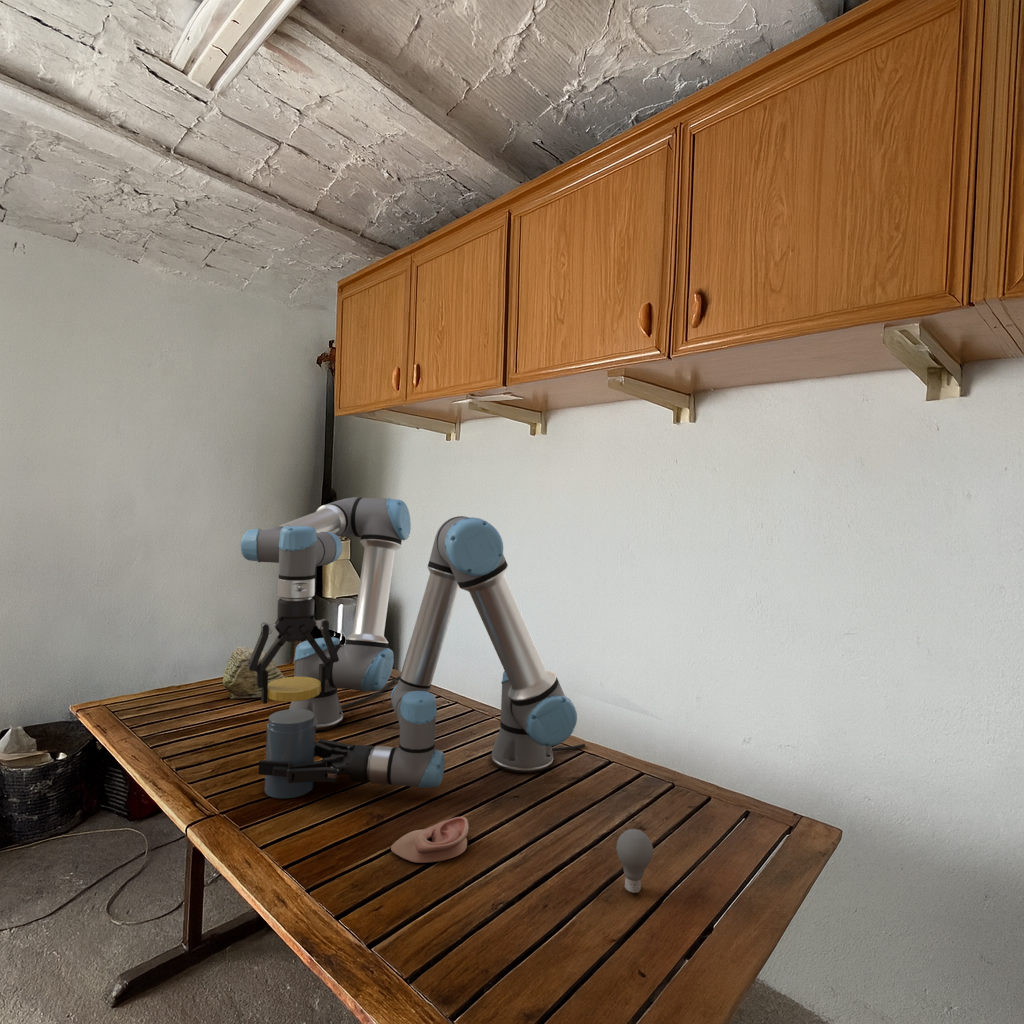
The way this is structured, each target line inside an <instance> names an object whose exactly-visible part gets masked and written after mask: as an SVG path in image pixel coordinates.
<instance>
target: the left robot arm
mask: <svg viewBox="0 0 1024 1024" xmlns="http://www.w3.org/2000/svg"><path fill="white" fill-rule="evenodd" d="M411 524H412V523H411V515H410V510H409V508H408V505H407V503H406V502H404V501H403V500H401V499H397V498H396V499H395V498H391V497H385V498H383V497H382V498H380V497H360V496H353V497H348V498H343V499H338V500H335V501H332V502H330V503H326V504H323V505H321V506H319V507H318V508H317V509H316V511H314V512H312V513H309V514H307V515H304V516H301V517H298V518H295V519H293V520H290V521H288V522H285V523H282V524H280V525H277V526H273V527H271V528H268V529H261V528H258V529H257V528H255V529H254V528H253V529H248V530H247V531H246V532H244V534H243V535H242V537H241V539H240V552H241V555H242V557H243V558H244V559H245V560H247V561H251V562H257V563H273V564H278V582H277V596H278V597H279V599H278V600H277V611H276V612H277V613H276V620H275V622H274V623H273V622H271V623H267V622H262V623H261V624H260V634H259V636H258V638H257V641H256V643H255V646H254V648H253V649H254V651H253V653H252V656H251V658H250V660H249V663H248V668H249V669H250V670H251V671H256V672H257V686H258V688H260V687H262V694H261V697H260V699H261V700H260V701H261V702H262V704H263V705H265V704H268V698H267V693H268V672H267V670H265V669H266V668H267V666H268V665H269V664H270V662H271V661H272V660H273V659H274V658H275V657H276V655H277V654H278V652H279V651H280V650H281V648H282V647H283V646H284V645H285V644H286V642H287V643H293V642H296V641H297V642H299V643H298V644H297V645H296V647H295V652H294V653H295V654H294V659H293V661H294V672H293V677H310V678H315V679H317V680H319V681H320V682H321V692H320V694H319V695H317V696H316V697H313V698H310V699H307V700H302V701H292V702H290V704H289V708H288V709H305V710H309V711H312V712H313V713H314V714H315V719H314V720H315V721H316V733H317V732H325V731H329V730H332V729H335V728H337V727H339V726H340V725H342V723H343V722H344V713H343V709H345V708H349V707H351V706H354V705H357V704H360V703H363V702H366V701H369V700H372V699H374V698H376V697H378V696H379V695H380V694H382V693H383V692H384V691H386V690H387V689H388V688H389V687H390V686H391V685H392V684H394V683H396V682H398V681H399V679H400V675H399V676H396V677H395V678H393V679H391V680H390V677H391V675H392V671H393V668H394V661H395V659H394V656H395V655H394V652H393V650H392V649H391V648H389V641H388V640H387V637H385V629H386V621H387V614H388V607H389V606H388V605H389V601H390V600H389V599H390V592H391V584H392V576H393V570H394V561H395V556H396V555H395V553H396V551H398V550H399V549H400V548H401V547H402V542H403V541H405V540H408V539H409V537H410V534H411V529H412V527H411V526H412V525H411ZM340 537H355V538H360V540H359V541H360V544H361V546H362V547H363V548H364V551H363V558H362V563H361V572H360V577H359V586H358V592H357V599H356V606H355V607H356V608H355V614H354V620H353V625H352V632H351V634H350V635H348V636H347V637H346V638H345V643H344V644H340V643H341V641H340V639H339V638H338V637H334V636H331V633H330V631H329V630H330V622H329V620H327V619H326V618H321V619H318V620H316V619H315V599H314V598H313V597H314V596H315V593H316V589H315V587H316V567H320V566H328V565H331V564H332V563H335V562H336V561H337V560H338V559H340V557H341V555H342V553H343V543H342V540H341V538H340ZM316 627H317V629H318V630H320V632H321V636H322V637H318V638H314V637H313V635H312V634H311V633H312V632H313V631H314V629H315V628H316ZM274 630H276V631H277V632H278V634H277V636H276V638H275V639H274V641H273V642H272V644H271V645H270V647H269V649H268V650H267V651H266V652H265V653H266V654H265V655H264V657H263V658H262V660H261V661H260V663H259V664H257V663H258V661H259V658H260V656H261V654H262V651H263V650H264V649H265V646H266V644H267V641H268V639H269V635H271V634H272V633H273V631H274ZM389 680H390V681H389ZM388 681H389V682H388ZM338 689H342V690H351V691H359V692H360V691H361V692H365V693H366V692H375V693H373V694H371V695H369V696H367V697H363V698H360V699H358V700H355V701H352V702H349V703H346V704H345V703H344V704H341V702H340V699H339V695H338Z"/></svg>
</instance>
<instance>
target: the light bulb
mask: <svg viewBox="0 0 1024 1024" xmlns="http://www.w3.org/2000/svg"><path fill="white" fill-rule="evenodd" d="M615 849H616V854H617V857H618V859H619V861H620V863H621V865H622V867H623V873H624V874H623V875H624V876H625V878H624V888H625V890H627V891H628V892H630V893H634V894H635V893H639V892H640V891H641V889H642V887H641V886H642V879H643V877H644V875H645V871H646V868H647V867H648V866H649V864H650V863H651V861H652V859H653V855H654V847H653V843H652V841H651V838H649V836H648V835H647V834H646V833H645V832H643V831H642V830H641V829H636V828H629V829H627V830H625V831H623V832H622V833H621V834H620V835H619V837H618V839H617V841H616V847H615Z"/></svg>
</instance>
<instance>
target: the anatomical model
mask: <svg viewBox="0 0 1024 1024" xmlns="http://www.w3.org/2000/svg"><path fill="white" fill-rule="evenodd" d="M468 833H469V821H468V819H467V817H465V816H455V817H452V818H448V819H445V820H443V821H440V822H438V823H436V824H434V825H431V826H429V827H427V828H424V829H416V830H413V831H410V832H408V833H406V834H404V835H402V836H401V837H399V838H398V839H397V840H396V841H394V843H393V844H392V845H391V847H390V851H391V852H392V853H393V854H395V855H396V856H398V857H400V858H401V859H404V860H407V861H408V862H411V863H417V864H427V863H434V862H442V861H446V860H450V859H454V858H455V857H458V856H460V855H462V854H463V853H464V852H465V851H466V849H467V847H468V838H467V836H468Z"/></svg>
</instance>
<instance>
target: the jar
mask: <svg viewBox="0 0 1024 1024" xmlns="http://www.w3.org/2000/svg"><path fill="white" fill-rule="evenodd" d="M314 719H315V714H314V713H313V712H312V711H309V710H305V709H289V708H288V709H283V710H278V711H275V712H273V713H272V714H270V715H269V717H268V723H267V724H266V733H265V734H266V736H265V759H264V761H278V762H290V761H291V762H292V765H294V764H301V763H308V762H316V761H315V759H316V756H315V742H316V735H317V734H316V733H317V732H316V721H315V720H314ZM314 784H315V782H300V783H288V782H287V777H284V776H271V775H264V787H263V789H264V790H263V791H264V794H266V795H267V796H268V797H270V798H274V799H293V798H297V797H302V796H304V795H306V794H308V793H309V792H310V791H312V790H313V789H314V786H315V785H314Z"/></svg>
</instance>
